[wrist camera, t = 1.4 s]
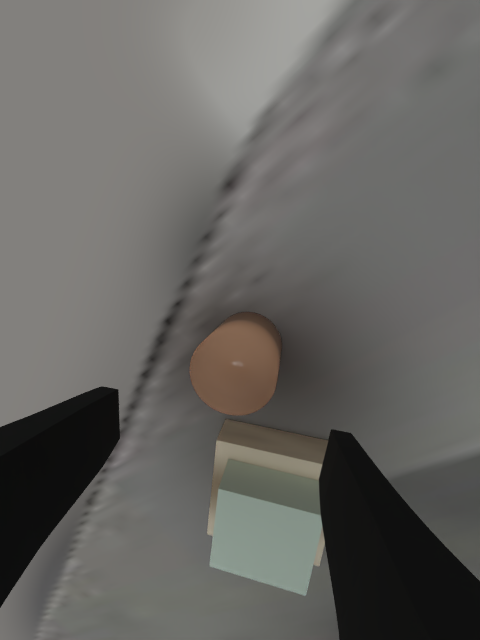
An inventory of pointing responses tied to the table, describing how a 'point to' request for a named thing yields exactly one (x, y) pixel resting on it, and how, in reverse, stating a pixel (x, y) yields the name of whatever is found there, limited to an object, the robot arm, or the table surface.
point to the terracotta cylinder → (238, 364)
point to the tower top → (266, 526)
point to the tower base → (266, 458)
